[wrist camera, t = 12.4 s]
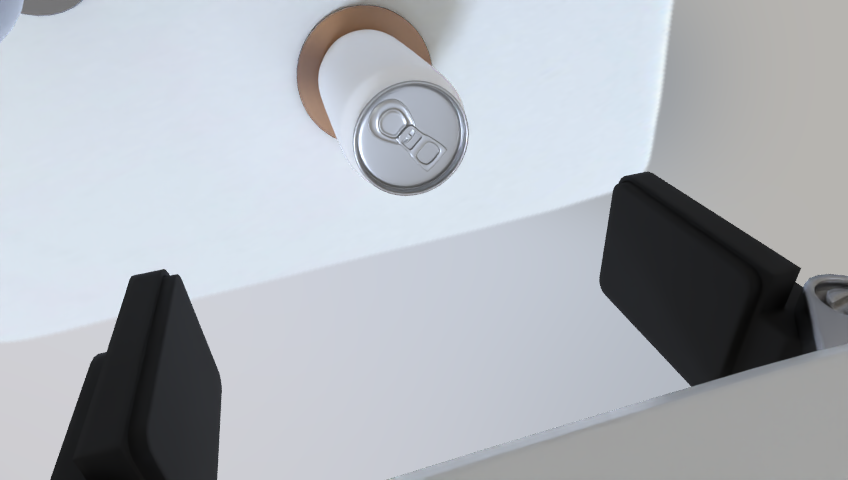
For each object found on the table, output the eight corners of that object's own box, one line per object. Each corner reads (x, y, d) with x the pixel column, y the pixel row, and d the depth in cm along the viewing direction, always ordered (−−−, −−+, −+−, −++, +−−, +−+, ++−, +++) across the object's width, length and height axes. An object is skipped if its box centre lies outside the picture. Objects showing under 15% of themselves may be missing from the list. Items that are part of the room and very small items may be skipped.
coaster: (284, 12, 31) (284, 13, 31) (427, -2, 33) (429, -1, 33) (309, 152, 36) (310, 154, 36) (433, 133, 38) (435, 135, 37)
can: (360, 4, 32) (408, 38, 22) (433, 73, 35) (503, 130, 25) (296, 86, 33) (314, 154, 23) (372, 145, 37) (415, 226, 27)
